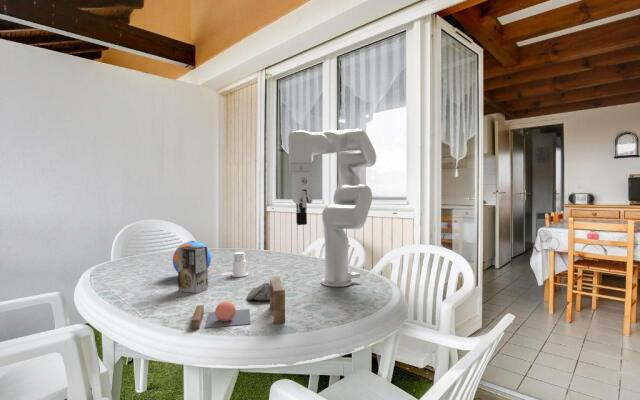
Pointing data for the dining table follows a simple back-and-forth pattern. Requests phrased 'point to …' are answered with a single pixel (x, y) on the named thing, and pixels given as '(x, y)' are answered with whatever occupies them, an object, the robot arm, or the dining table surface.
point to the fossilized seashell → (260, 293)
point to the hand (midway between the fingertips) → (301, 224)
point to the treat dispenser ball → (190, 243)
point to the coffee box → (192, 269)
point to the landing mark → (239, 319)
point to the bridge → (277, 300)
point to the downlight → (239, 265)
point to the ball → (225, 311)
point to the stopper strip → (197, 317)
